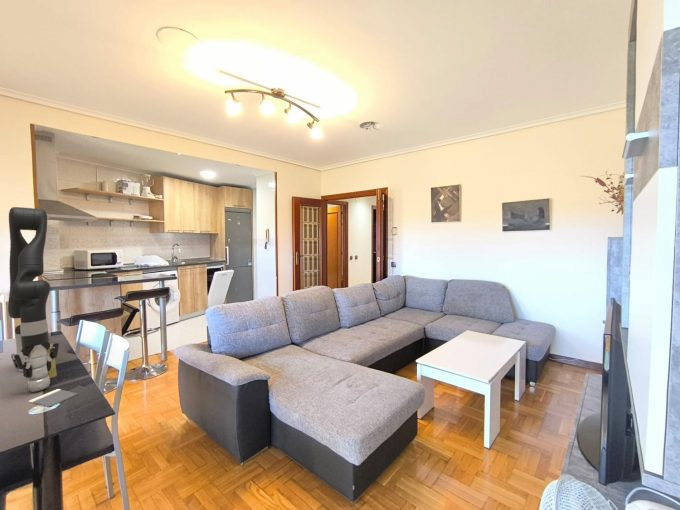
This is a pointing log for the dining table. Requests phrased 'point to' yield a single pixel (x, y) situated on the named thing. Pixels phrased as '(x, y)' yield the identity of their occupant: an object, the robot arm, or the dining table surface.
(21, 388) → the dining table surface
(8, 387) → the dining table surface
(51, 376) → the vase
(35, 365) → the plastic bottle
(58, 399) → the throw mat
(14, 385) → the dining table surface
